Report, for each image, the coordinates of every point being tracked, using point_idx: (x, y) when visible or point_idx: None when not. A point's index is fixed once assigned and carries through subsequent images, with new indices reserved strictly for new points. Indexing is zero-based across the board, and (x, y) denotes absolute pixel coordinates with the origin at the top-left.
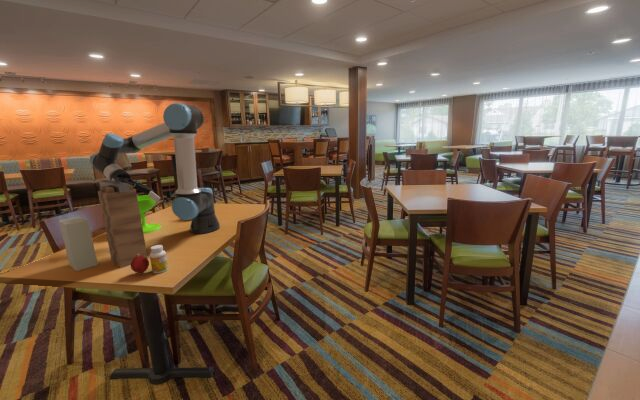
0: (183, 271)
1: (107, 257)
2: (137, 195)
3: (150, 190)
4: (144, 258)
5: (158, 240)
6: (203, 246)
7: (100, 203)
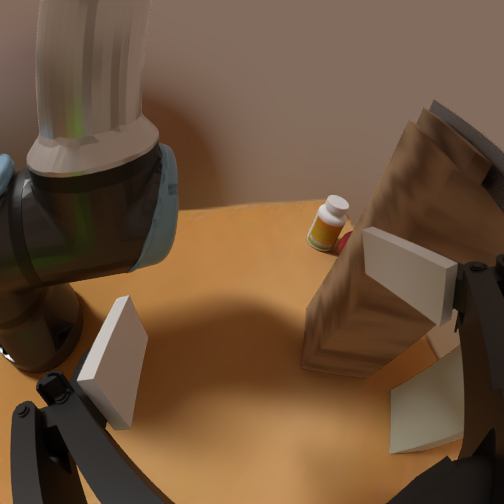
0: (298, 209)
1: (361, 424)
2: (369, 228)
3: (75, 396)
4: (352, 231)
5: (181, 417)
6: (183, 240)
7: (495, 259)
